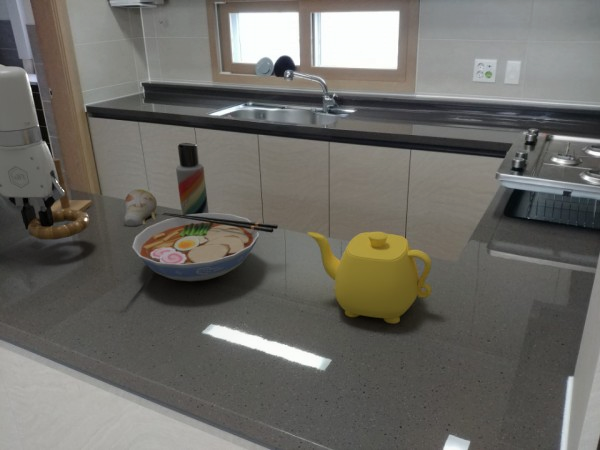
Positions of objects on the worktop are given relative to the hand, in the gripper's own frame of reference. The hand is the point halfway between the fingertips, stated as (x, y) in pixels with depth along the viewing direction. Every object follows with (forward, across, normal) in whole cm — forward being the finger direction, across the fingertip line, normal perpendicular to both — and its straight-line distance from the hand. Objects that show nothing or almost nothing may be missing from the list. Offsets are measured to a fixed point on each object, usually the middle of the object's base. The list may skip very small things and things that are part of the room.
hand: (39, 226), depth 107 cm
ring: (-1, +4, 0) cm, 4 cm away
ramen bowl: (+6, +34, -5) cm, 35 cm away
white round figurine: (+7, +13, +18) cm, 23 cm away
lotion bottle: (+6, +28, +13) cm, 31 cm away
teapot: (+6, +65, -15) cm, 67 cm away
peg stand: (+7, -9, +25) cm, 27 cm away
